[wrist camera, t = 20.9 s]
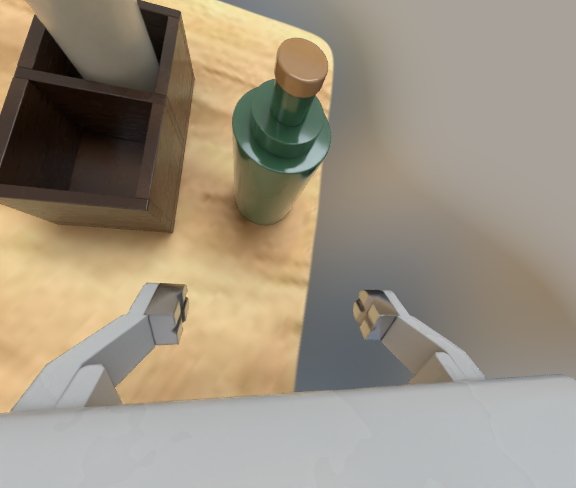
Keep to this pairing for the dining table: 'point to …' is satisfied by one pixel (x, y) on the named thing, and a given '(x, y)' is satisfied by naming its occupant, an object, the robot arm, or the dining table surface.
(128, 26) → the cream bottle
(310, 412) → the robot arm
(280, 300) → the dining table surface
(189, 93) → the caddy
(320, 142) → the green bottle
